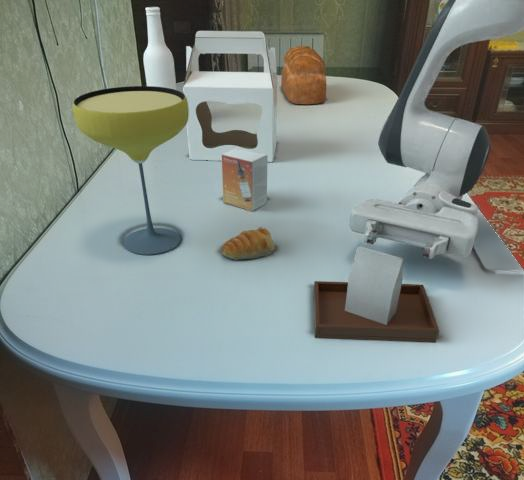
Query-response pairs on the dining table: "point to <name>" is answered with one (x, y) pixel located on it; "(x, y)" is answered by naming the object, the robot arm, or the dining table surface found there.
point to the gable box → (230, 95)
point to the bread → (303, 76)
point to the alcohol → (158, 54)
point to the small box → (244, 178)
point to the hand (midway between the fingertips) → (397, 246)
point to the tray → (357, 327)
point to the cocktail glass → (135, 139)
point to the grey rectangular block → (374, 285)
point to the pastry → (249, 245)
